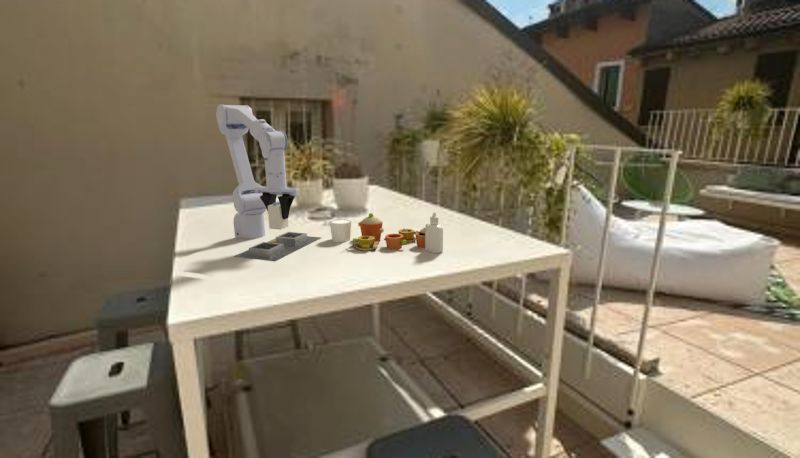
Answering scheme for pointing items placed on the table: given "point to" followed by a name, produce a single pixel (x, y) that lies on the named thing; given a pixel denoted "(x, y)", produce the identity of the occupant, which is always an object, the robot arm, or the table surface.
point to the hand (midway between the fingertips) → (279, 218)
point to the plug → (276, 217)
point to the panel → (278, 246)
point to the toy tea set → (372, 235)
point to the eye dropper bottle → (434, 236)
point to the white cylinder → (340, 230)
